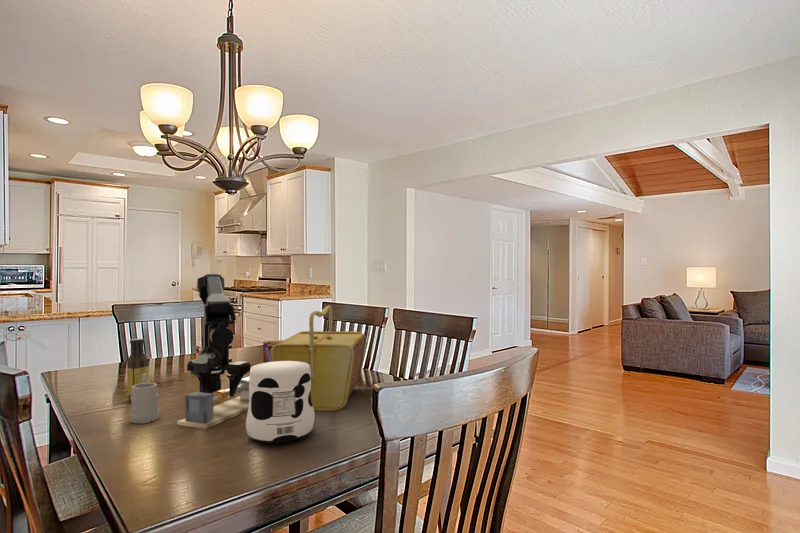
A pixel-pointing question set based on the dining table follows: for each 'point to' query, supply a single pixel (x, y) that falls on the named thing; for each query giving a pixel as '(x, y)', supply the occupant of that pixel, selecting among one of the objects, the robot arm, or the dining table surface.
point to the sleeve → (245, 394)
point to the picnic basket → (326, 361)
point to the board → (220, 413)
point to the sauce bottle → (136, 364)
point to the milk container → (279, 402)
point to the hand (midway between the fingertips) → (218, 395)
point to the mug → (144, 402)
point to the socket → (199, 407)
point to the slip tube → (223, 394)
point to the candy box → (268, 349)
